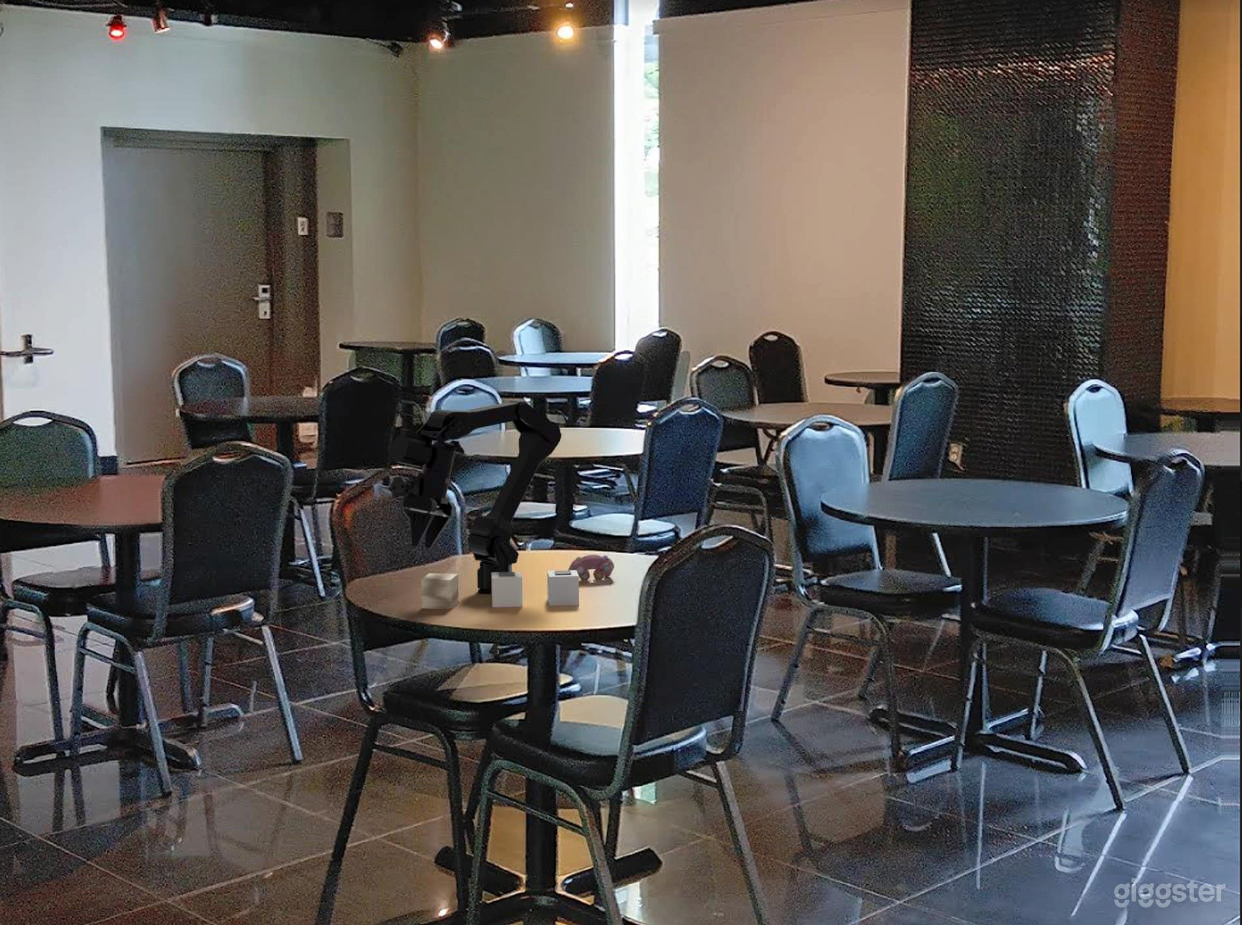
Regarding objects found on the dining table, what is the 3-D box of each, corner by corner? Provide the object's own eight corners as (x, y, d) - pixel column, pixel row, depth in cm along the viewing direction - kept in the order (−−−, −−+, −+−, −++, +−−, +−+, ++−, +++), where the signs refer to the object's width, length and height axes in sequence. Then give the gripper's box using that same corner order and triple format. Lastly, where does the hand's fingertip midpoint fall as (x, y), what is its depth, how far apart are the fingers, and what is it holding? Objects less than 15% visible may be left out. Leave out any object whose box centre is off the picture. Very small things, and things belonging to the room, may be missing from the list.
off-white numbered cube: (521, 600, 314) (520, 570, 314) (522, 606, 308) (522, 576, 308) (491, 601, 314) (491, 570, 313) (492, 607, 308) (492, 576, 307)
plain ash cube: (458, 603, 312) (458, 574, 311) (450, 609, 306) (450, 580, 305) (429, 602, 313) (429, 573, 312) (421, 608, 307) (421, 579, 306)
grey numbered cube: (576, 598, 316) (576, 568, 315) (579, 605, 310) (578, 574, 309) (547, 599, 315) (547, 569, 314) (549, 606, 309) (549, 575, 308)
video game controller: (569, 588, 332) (573, 563, 329) (565, 575, 336) (568, 550, 332) (613, 586, 335) (617, 560, 331) (608, 573, 339) (612, 548, 335)
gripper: (412, 467, 320) (397, 541, 320) (384, 460, 302) (368, 537, 301) (463, 477, 318) (448, 551, 318) (438, 470, 300) (422, 548, 299)
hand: (421, 547), depth 309 cm, fingers open, 9 cm apart
